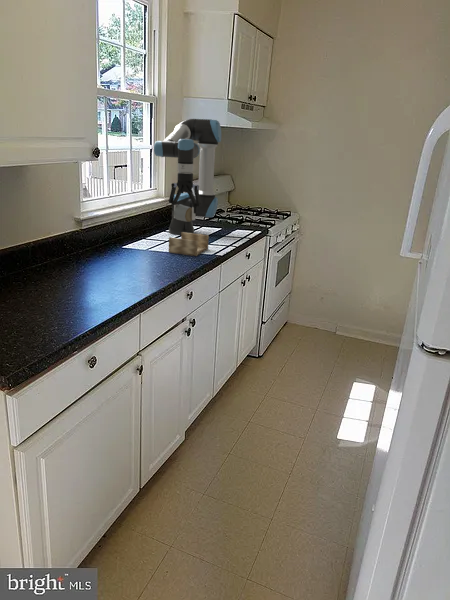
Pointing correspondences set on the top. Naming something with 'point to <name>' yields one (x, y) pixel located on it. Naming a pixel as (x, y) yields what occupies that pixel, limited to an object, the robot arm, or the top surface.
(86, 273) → the top surface
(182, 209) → the ceramic mug
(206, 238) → the holder
